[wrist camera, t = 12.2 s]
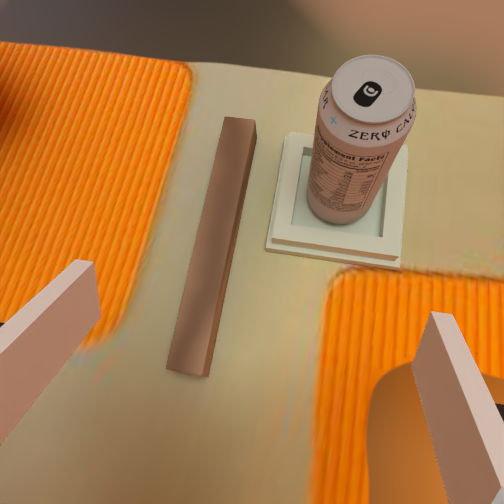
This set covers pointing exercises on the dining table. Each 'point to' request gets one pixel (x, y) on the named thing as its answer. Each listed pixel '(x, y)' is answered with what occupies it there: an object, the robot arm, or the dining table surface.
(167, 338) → the dining table surface
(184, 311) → the walnut sill
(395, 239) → the keeper plate
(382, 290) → the dining table surface
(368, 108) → the energy drink can
